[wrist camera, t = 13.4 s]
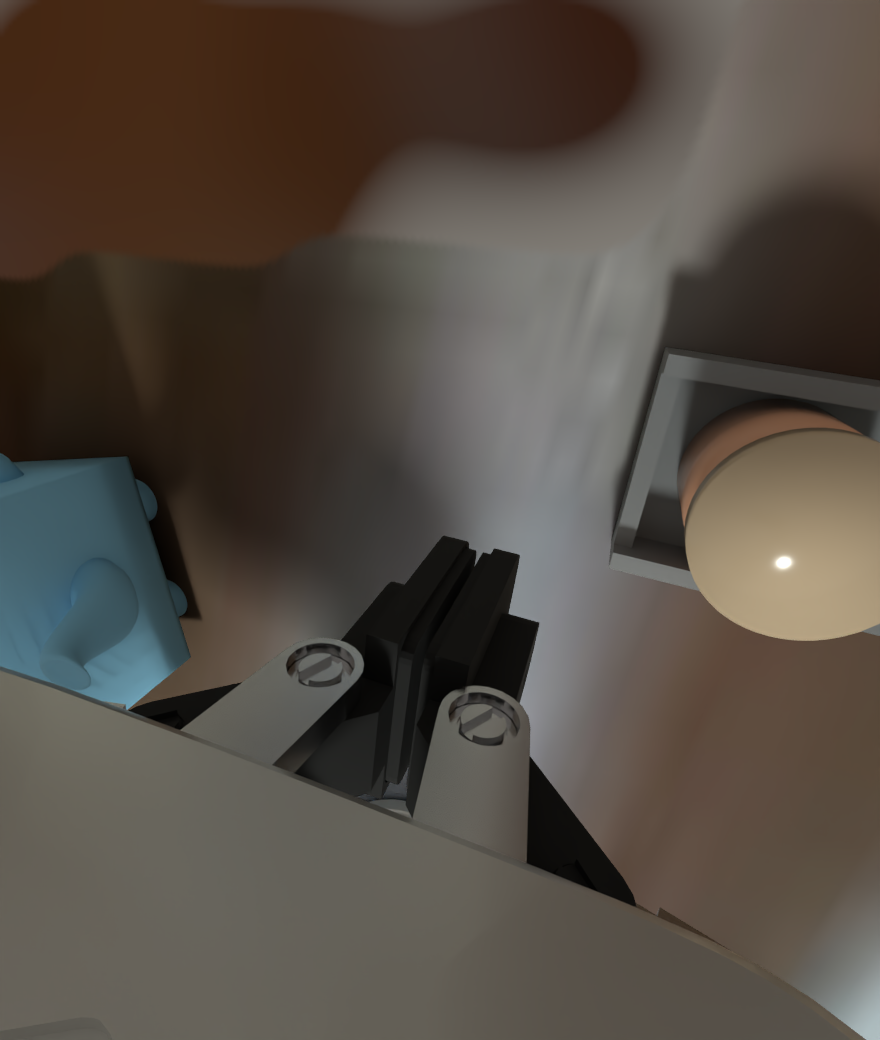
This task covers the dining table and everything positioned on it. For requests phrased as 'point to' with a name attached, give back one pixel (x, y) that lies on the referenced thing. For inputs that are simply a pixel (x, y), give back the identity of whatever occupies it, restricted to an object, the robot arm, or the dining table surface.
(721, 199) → the dining table surface
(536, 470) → the dining table surface
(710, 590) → the terracotta jar
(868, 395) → the tray
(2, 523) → the teakettle
